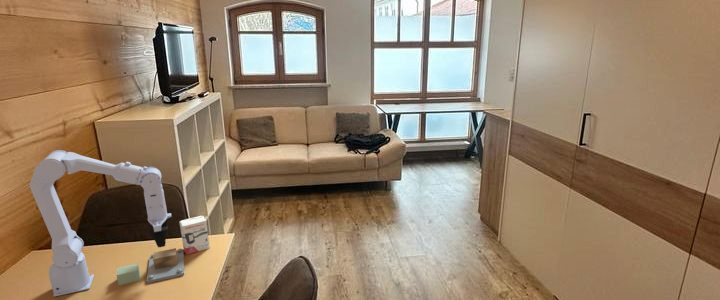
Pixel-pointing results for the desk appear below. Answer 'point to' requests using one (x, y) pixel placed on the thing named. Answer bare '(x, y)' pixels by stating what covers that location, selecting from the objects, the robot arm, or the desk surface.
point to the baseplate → (166, 269)
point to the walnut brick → (165, 258)
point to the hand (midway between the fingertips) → (162, 240)
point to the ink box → (194, 234)
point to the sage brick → (128, 274)
